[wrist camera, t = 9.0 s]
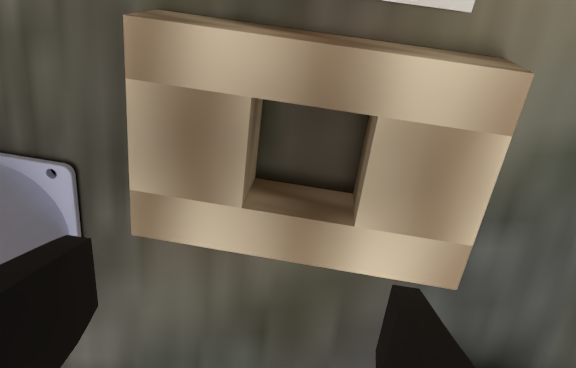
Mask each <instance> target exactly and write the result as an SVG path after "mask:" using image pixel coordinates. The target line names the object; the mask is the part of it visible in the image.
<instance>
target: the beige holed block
mask: <svg viewBox="0 0 576 368" xmlns="http://www.w3.org/2000/svg"><path fill="white" fill-rule="evenodd" d="M123 27H124V53H125V79H126V105H127V131H128V158H129V184H130V210H131V235H135V236H141V237H147V238H153V239H158V240H164V241H170V242H176V243H182V244H188V245H194V246H200V247H206V248H212V249H217V250H223V251H229V252H235V253H241V254H247V255H253V256H259V257H265V258H271V259H276V260H282V261H288V262H294V263H300V264H306V265H312V266H318V267H324V268H330V269H335V270H341V271H347V272H353V273H359V274H365V275H371V276H377V277H383V278H388V279H394V280H400V281H406V282H412V283H418V284H424V285H430V286H436V287H442V288H447V289H453V290H457V288H458V285H459V282H460V280H461V277H462V274H463V271H464V269H465V266H466V263H467V260H468V257H469V255H470V252H471V249H472V246H473V244H474V241H475V238H476V235H477V232H478V230H479V227H480V224H481V221H482V219H483V216H484V213H485V210H486V207H487V205H488V202H489V199H490V196H491V194H492V191H493V188H494V185H495V183H496V180H497V177H498V174H499V171H500V169H501V166H502V163H503V160H504V158H505V155H506V152H507V149H508V146H509V144H510V141H511V138H512V135H513V133H514V130H515V127H516V124H517V121H518V119H519V116H520V113H521V110H522V108H523V105H524V102H525V99H526V96H527V94H528V91H529V88H530V85H531V83H532V80H533V77H534V73H532V72H530V71H528V70H526V69H524V68H523V67H521V66H519V65H517V64H515V63H513V62H511V61H509V60H507V59H504V58H497V57H490V56H483V55H476V54H469V53H462V52H455V51H448V50H441V49H434V48H427V47H420V46H413V45H405V44H398V43H391V42H384V41H377V40H370V39H363V38H356V37H349V36H342V35H335V34H328V33H321V32H314V31H307V30H300V29H292V28H285V27H278V26H271V25H264V24H257V23H250V22H243V21H236V20H229V19H222V18H215V17H208V16H201V15H194V14H186V13H179V12H172V11H165V10H158V9H155V10H149V11H143V12H137V13H131V14H125V15H123ZM263 99H266V100H272V101H279V102H286V103H292V104H299V105H305V106H312V107H319V108H325V109H332V110H339V111H345V112H352V113H359V114H365V115H369V119H368V124H367V129H366V134H365V139H364V144H363V148H362V153H361V158H360V163H359V168H358V172H357V177H356V182H355V187H354V192H353V194H352V193H345V192H339V191H333V190H327V189H321V188H314V187H308V186H302V185H296V184H289V183H283V182H277V181H271V180H264V179H258V178H255V175H256V164H257V154H258V144H259V134H260V124H261V113H262V103H263Z"/></svg>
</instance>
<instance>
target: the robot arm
mask: <svg viewBox="0 0 576 368" xmlns="http://www.w3.org/2000/svg"><path fill="white" fill-rule="evenodd" d="M51 169H53V170H54V171H55V172H56V174H57V175H54V174H53V173H52V171H51ZM97 307H98V299H97V290H96V281H95V271H94V262H93V253H92V243H91V238H84V237H81V227H80V217H79V206H78V196H77V186H76V175H75V171H74V169H73V168H72V167H71V166H70V165H68V164H66V163H61V162H55V161H48V160H42V159H36V158H30V157H24V156H18V155H11V154H5V153H0V368H60V367H61V366H62V364H63V363H64V362H65V360H66V359H67V358H68V356H69V355H70V353H71V352H72V351H73V349H74V348H75V346H76V345H77V343H78V342H79V340H80V338H81V336H82V335H83V333H84V331H85V329H86V328H87V326H88V324H89V322H90V320H91V318H92V316H93V314H94V312H95V311H96V309H97ZM376 368H475V366H474V365H473V364H472V362H471V361H470V360H469V358H468V357H467V356H466V354H465V353H464V352H463V350H462V349H461V348H460V346H459V345H458V344H457V342H456V341H455V340H454V338H453V337H452V335H451V334H450V333H449V331H448V330H447V328H446V327H445V325H444V324H443V323H442V321H441V320H440V318H439V317H438V315H437V314H436V312H435V311H434V309H433V308H432V306H431V305H430V303H429V302H428V301H427V299H426V298H425V296H424V295H423V293H422V292H421V291H420V289H417V288H410V287H404V286H397V285H392V289H391V292H390V296H389V300H388V304H387V308H386V312H385V316H384V320H383V324H382V328H381V332H380V336H379V340H378V344H377V348H376Z"/></svg>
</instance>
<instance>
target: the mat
mask: <svg viewBox="0 0 576 368" xmlns="http://www.w3.org/2000/svg"><path fill="white" fill-rule="evenodd" d="M383 1H391V2H398V3H405V4H413V5H420V6H427V7H435V8H442V9H449V10H457V11H464V12H472V9H473V5H474V1H475V0H383Z"/></svg>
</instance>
